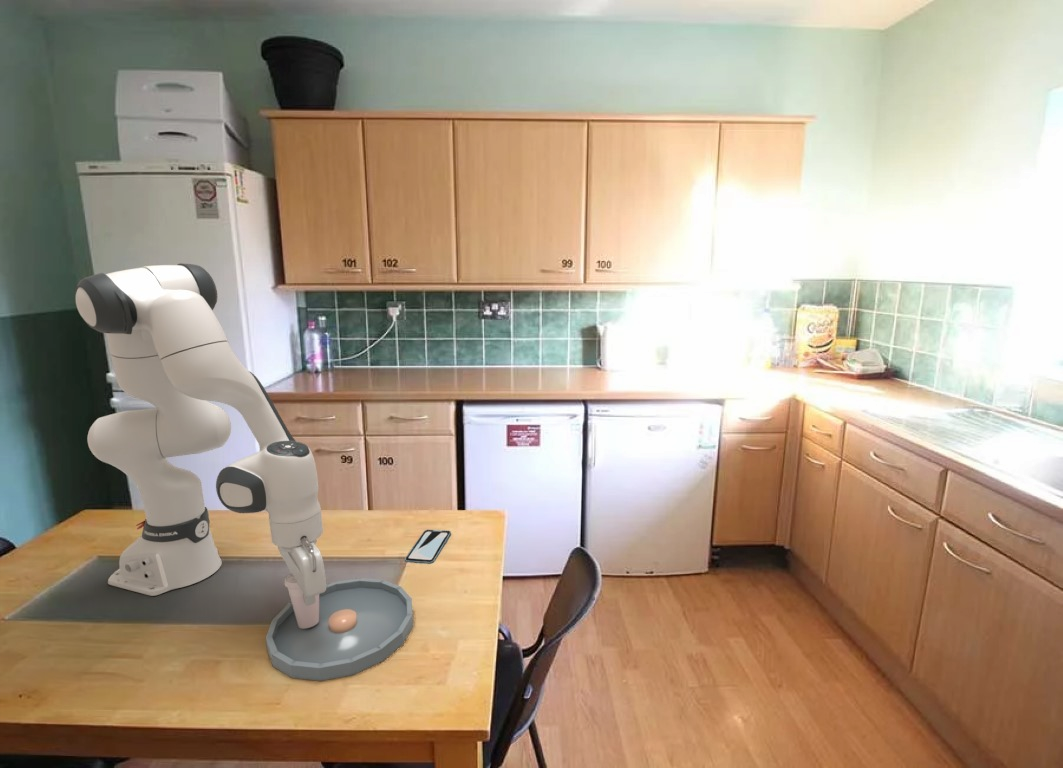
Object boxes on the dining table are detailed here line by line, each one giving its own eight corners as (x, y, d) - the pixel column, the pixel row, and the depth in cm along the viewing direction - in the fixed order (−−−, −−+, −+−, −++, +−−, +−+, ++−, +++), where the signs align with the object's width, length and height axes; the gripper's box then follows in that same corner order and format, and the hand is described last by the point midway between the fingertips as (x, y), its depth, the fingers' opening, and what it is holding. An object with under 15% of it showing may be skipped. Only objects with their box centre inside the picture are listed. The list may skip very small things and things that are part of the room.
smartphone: (403, 560, 125) (425, 529, 140) (403, 564, 126) (425, 532, 140) (432, 562, 124) (452, 530, 139) (433, 566, 125) (452, 534, 139)
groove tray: (236, 671, 91) (234, 659, 91) (317, 585, 117) (315, 574, 116) (379, 687, 88) (378, 674, 87) (430, 593, 113) (430, 583, 112)
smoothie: (323, 629, 99) (313, 557, 98) (286, 635, 98) (276, 563, 97) (329, 611, 106) (320, 544, 104) (295, 617, 105) (286, 549, 103)
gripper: (331, 544, 92) (338, 614, 95) (300, 504, 108) (307, 566, 111) (293, 555, 89) (302, 628, 92) (266, 513, 105) (274, 576, 107)
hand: (304, 594), depth 102 cm, fingers closed on smoothie, 6 cm apart
